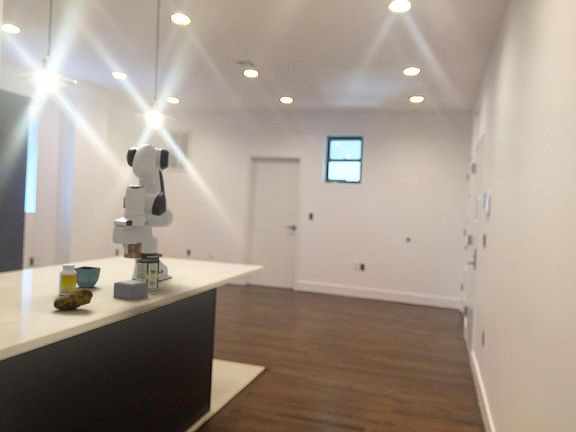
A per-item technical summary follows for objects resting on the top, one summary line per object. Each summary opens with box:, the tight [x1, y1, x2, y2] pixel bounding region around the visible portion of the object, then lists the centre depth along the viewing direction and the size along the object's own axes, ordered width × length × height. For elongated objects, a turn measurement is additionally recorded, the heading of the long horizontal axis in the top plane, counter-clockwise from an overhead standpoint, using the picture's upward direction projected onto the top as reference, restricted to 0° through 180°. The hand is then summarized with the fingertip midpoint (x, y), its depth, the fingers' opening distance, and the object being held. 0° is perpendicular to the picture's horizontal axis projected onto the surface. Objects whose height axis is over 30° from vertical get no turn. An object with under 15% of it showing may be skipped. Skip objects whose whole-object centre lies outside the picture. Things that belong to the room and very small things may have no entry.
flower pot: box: [74, 266, 102, 289], centre depth 232 cm, size 9×9×9 cm
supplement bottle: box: [58, 263, 77, 296], centre depth 211 cm, size 7×7×13 cm
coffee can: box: [136, 259, 161, 292], centre depth 235 cm, size 10×10×14 cm
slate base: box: [112, 279, 149, 301], centre depth 214 cm, size 10×10×6 cm
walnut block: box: [123, 243, 142, 260], centre depth 214 cm, size 5×5×6 cm
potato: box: [53, 287, 94, 311], centre depth 184 cm, size 8×13×8 cm, turn 99°
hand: (132, 253), depth 214 cm, fingers closed on walnut block, 5 cm apart
